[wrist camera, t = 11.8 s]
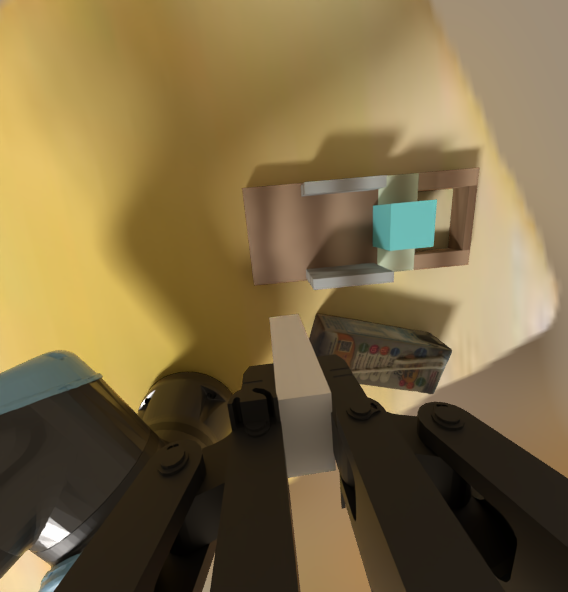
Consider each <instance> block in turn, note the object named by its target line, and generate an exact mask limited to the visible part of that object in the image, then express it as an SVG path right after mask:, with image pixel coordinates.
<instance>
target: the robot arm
mask: <svg viewBox="0 0 568 592" xmlns="http://www.w3.org/2000/svg"><path fill="white" fill-rule="evenodd" d="M269 319H270V330H271V341H272V352H273V363H272V364H265V365H257V366H250V367H249V368H248V369H247V370H246V372H245V373H244V374H243V382H242V383H243V384H242V389H241V390H239V391H237V392H236V393H235V394H234V395H232V393H231V392H230V391H229V390H228V388H227V387H226V386H225V385H223V384H222V383H221V382H219V381H218V380H216V379H214V378H212V377H210V376H208V375H205V374H201V373H195V372H181V373H175V374H172V375H169V376H166V377H164V378H162V379H161V380H159V381H158V382H156V383H155V384H154V385H153V386H152V387H151V389H150V390H149V391H148V393H147V394H146V396H145V397H144V399H143V400H142V402H141V404H140V407H139V410H138V414H136V413H135V412H134V411H133V410H132V409H131V408H130V407H129V406H128V405H127V404H126V403H125V402H124V401H123V400H122V399H121V397H120V396H119V395H118V394H117V393H116V392H115V391H114V390H113V389H112V388H111V387H110V386H109V385H108V384H107V383H106V382H105V381H104V380H103V379H102V377H103V376H102V375H101V374H99V373H96V372H94V371H93V370H92V369H91V368H90V367H89V366H88V365H87V364H86V363H84V362H83V361H82V360H81V359H80V358H79V357H78V356H77V355H75V354H74V353H72V352H69V351H62V350H59V351H52V352H48V353H45V354H42V355H40V356H37V357H35V358H33V359H31V360H28V361H26V362H24V363H22V364H19V365H17V366H15V367H13V368H11V369H9V370H6V371H4V372H2V373H0V579H1V578H2V577H3V575H4V574H5V573H6V572H7V571H8V570H9V569H10V568H11V567H12V566H13V565H14V563H15V562H16V561H17V560H18V559H19V558H20V557H21V556H22V555H23V554H24V553H25V552H26V551H27V550H30V551H31V552H33V553H34V554H35V555H37V556H38V557H40V558H41V559H43V560H44V561H46V562H47V563H48V564H49V565H51V570H50V571H48V572H47V573H46V575H45V576H44V578H43V579H42V581H41V587H40V590H39V592H202V590H203V587H204V584H205V581H206V578H207V575H208V572H209V569H210V566H211V563H212V560H213V557H214V553H215V559H214V566H213V573H212V581H211V588H210V592H300V584H299V574H298V565H297V556H296V547H295V538H294V529H293V520H292V510H291V502H290V493H289V484H288V478H290V477H296V476H303V475H309V474H315V473H321V472H328V471H334V470H336V466H335V460H336V463H337V466H338V469H339V472H340V490H341V505H342V508H345V507H346V508H347V510H348V514H349V518H350V521H351V524H352V528H353V531H354V534H355V538H356V541H357V545H358V547H359V551H360V555H361V558H362V561H363V565H364V568H365V571H366V575H367V578H368V581H369V585H370V588H371V591H372V592H568V478H566V477H565V476H563V475H562V474H560V473H559V472H557V471H556V470H554V469H553V468H551V467H550V466H548V465H547V464H545V463H544V462H542V461H541V460H539V459H538V458H536V457H535V456H533V455H531V454H530V453H529V452H527V451H525V450H524V449H523V448H521V447H520V446H518V445H517V444H515V443H514V442H512V441H511V440H509V439H508V438H506V437H504V436H503V435H502V434H500V433H499V432H497V431H496V430H494V429H493V428H491V427H489V426H488V425H486V424H485V423H483V422H482V421H480V420H479V419H477V418H476V417H474V416H473V415H471V414H470V413H468V412H467V411H465V410H463V409H461V408H459V407H457V406H455V405H451V404H448V403H443V402H430V403H425V404H424V405H422V406H421V407H420V408H419V411H418V415H417V416H407V415H398V414H392V413H389V412H386V411H385V409H384V408H383V407H382V406H381V405H380V404H379V403H378V402H377V401H375V400H373V399H371V398H368V397H367V396H366V394H365V393H364V391H363V389H362V388H361V386H360V384H359V383H358V381H357V379H356V378H355V376H354V375H353V373H352V371H351V370H350V369H349V366H348V365H347V363H346V362H345V360H344V359H342V358H341V357H339V356H338V355H336V354H333V355H326V356H318V357H316V355H315V352H314V350H313V348H312V345H311V343H310V340H309V338H308V336H307V333H306V331H305V328H304V326H303V324H302V321H301V319H300V316H299V314H293V315H285V316H277V317H269ZM345 504H346V505H345Z"/></svg>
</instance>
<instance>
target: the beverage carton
mask: <svg viewBox="0 0 568 592" xmlns="http://www.w3.org/2000/svg"><path fill="white" fill-rule="evenodd" d="M309 340H310V343H311V345H312V348H313V350H314V352H315V355H316V357H318V356H326V355H333V354H336V355H338V356H339V357H341V358H342V359H344V360H345V362H346V363H347V365H348V366H349V369H350V370H351V371H352V373H353V375H354V376H355V378H356V379H357V381H358V383H359V384H364V385H371V386H378V387H385V388H392V389H400V390H408V391H418V392H421V393H428V394H433V393H434V392H435V389H436V387H437V385H438V382H439V380H440V377H441V375H442V373H443V371H444V369H445V366H446V364H447V362H448V360H449V358H450V355H451V353H452V350H451V348H449V347H448V346H446V345H445V344H444V343H442V342H441V341H440V340H439V339H437V338H436V337H435V336H433V335H432V334H431V333H428V332H423V331H416V330H410V329H405V328H399V327H393V326H387V325H382V324H376V323H371V322H365V321H359V320H353V319H347V318H341V317H335V316H328V315H321V314H316V316H315V320H314V323H313V327H312V331H311V334H310V338H309Z"/></svg>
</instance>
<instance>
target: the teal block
mask: <svg viewBox="0 0 568 592" xmlns="http://www.w3.org/2000/svg"><path fill="white" fill-rule="evenodd" d="M436 205H437V200H427V201H416V202H405V203H394V204H385V205H376V206H373V247H377V248H381V249H385V250H388V251H394V250H404V249H414V248H424V247H433V245H434V232H435V218H436Z"/></svg>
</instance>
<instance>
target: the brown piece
mask: <svg viewBox="0 0 568 592" xmlns="http://www.w3.org/2000/svg"><path fill="white" fill-rule="evenodd" d="M478 176H479V168H469V169H458V170H446V171H435V172H423V173H412V174H401V175H389V176H387V175H381V176H369V177H358V178H346V179H335V180H323V181H312V182H304V183H297V184H285V185H274V186H262V187H251V188H242V190H243V199H244V207H245V215H246V223H247V231H248V239H249V247H250V256H251V264H252V272H253V280H254V285H263V284H273V283H284V282H294V281H304V280H308V281H309V283H310V285H311V286H312V288H313V290H318V289H329V288H339V287H349V286H359V285H370V284H380V283H390V282H394V272H397V271H407V270H418V269H429V268H439V267H449V266H460V265H468V262H469V254H470V245H471V236H472V228H473V219H474V210H475V202H476V193H477V185H478ZM441 189H453V199H452V210H451V221H450V232H449V243H448V248H443V249H432V250H422V251H415V248H414V249H404V250H394V251H388V250H385V249H381V248H377V247H373V206H376V205H385V204H394V203H405V202H416V201H417V199H418V192H419V191H430V190H441Z"/></svg>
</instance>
